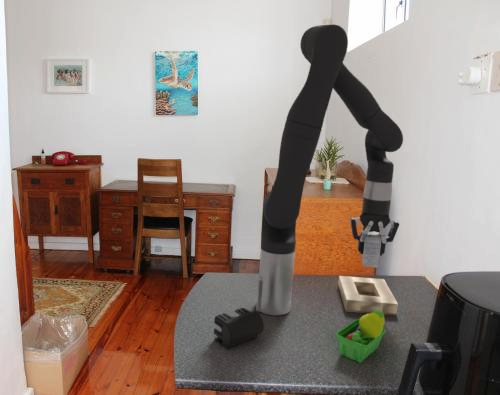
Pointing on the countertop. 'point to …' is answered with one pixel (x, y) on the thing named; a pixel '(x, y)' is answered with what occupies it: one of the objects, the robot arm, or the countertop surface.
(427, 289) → the countertop surface
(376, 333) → the fruit basket
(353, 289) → the thick beige rectangular frame
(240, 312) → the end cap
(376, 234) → the medicine box
